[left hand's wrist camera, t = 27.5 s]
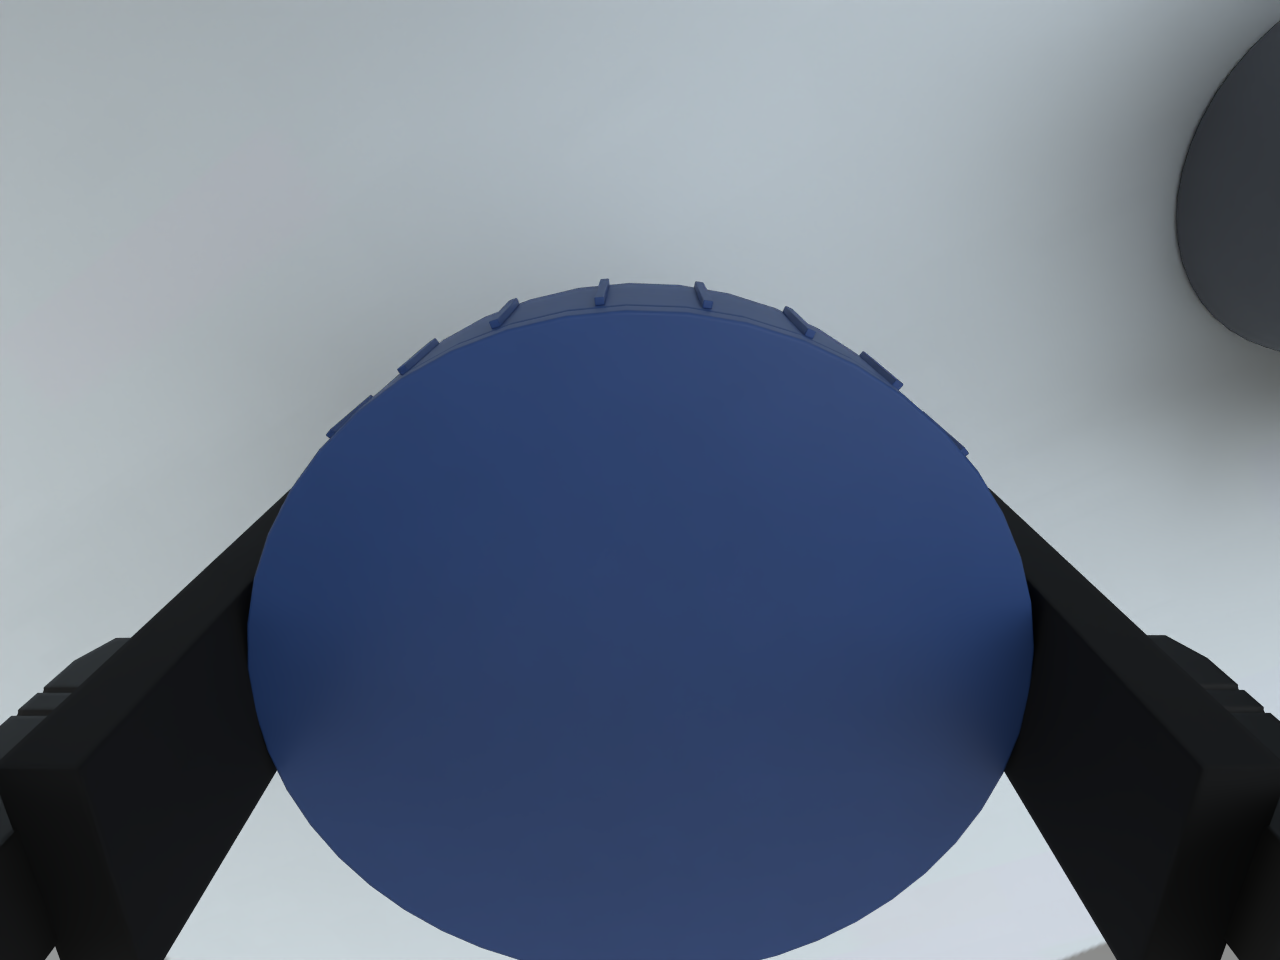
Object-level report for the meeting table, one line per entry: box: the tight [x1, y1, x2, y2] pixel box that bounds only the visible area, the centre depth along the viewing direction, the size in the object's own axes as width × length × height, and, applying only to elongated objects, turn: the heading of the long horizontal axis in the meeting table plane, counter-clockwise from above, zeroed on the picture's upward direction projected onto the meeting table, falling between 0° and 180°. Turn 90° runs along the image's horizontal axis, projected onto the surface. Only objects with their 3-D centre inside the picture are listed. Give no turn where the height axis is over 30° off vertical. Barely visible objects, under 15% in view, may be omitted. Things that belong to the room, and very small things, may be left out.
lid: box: [247, 279, 1034, 960], centre depth 11 cm, size 10×10×2 cm
